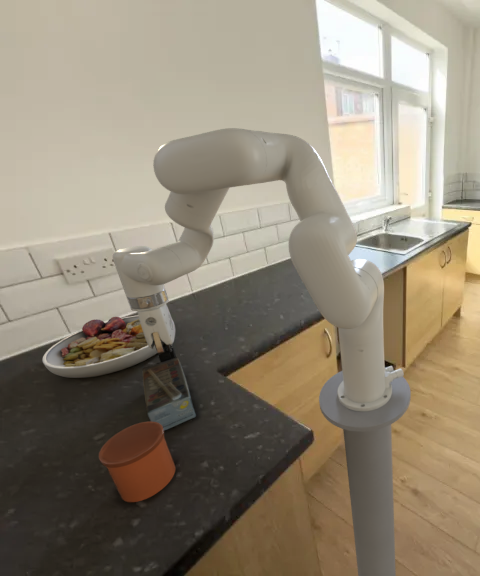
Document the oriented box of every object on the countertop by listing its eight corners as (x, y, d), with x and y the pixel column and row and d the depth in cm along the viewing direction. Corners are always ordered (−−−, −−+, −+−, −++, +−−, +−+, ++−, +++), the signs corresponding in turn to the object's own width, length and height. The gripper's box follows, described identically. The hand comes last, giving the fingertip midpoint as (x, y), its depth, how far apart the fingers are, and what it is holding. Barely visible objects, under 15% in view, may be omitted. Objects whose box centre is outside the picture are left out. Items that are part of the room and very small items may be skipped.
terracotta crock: (178, 451, 61) (165, 414, 58) (176, 488, 54) (160, 448, 51) (123, 471, 57) (105, 433, 54) (112, 514, 50) (91, 473, 47)
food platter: (198, 338, 101) (192, 316, 98) (83, 397, 76) (70, 370, 73) (144, 321, 114) (137, 300, 111) (30, 367, 89) (17, 343, 86)
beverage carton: (153, 436, 64) (143, 411, 62) (148, 388, 79) (139, 366, 76) (197, 417, 69) (189, 393, 66) (185, 375, 83) (178, 354, 81)
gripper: (164, 306, 71) (185, 374, 77) (169, 286, 83) (187, 346, 90) (122, 314, 67) (148, 385, 74) (134, 292, 80) (156, 354, 87)
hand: (170, 363), depth 82 cm, fingers closed
